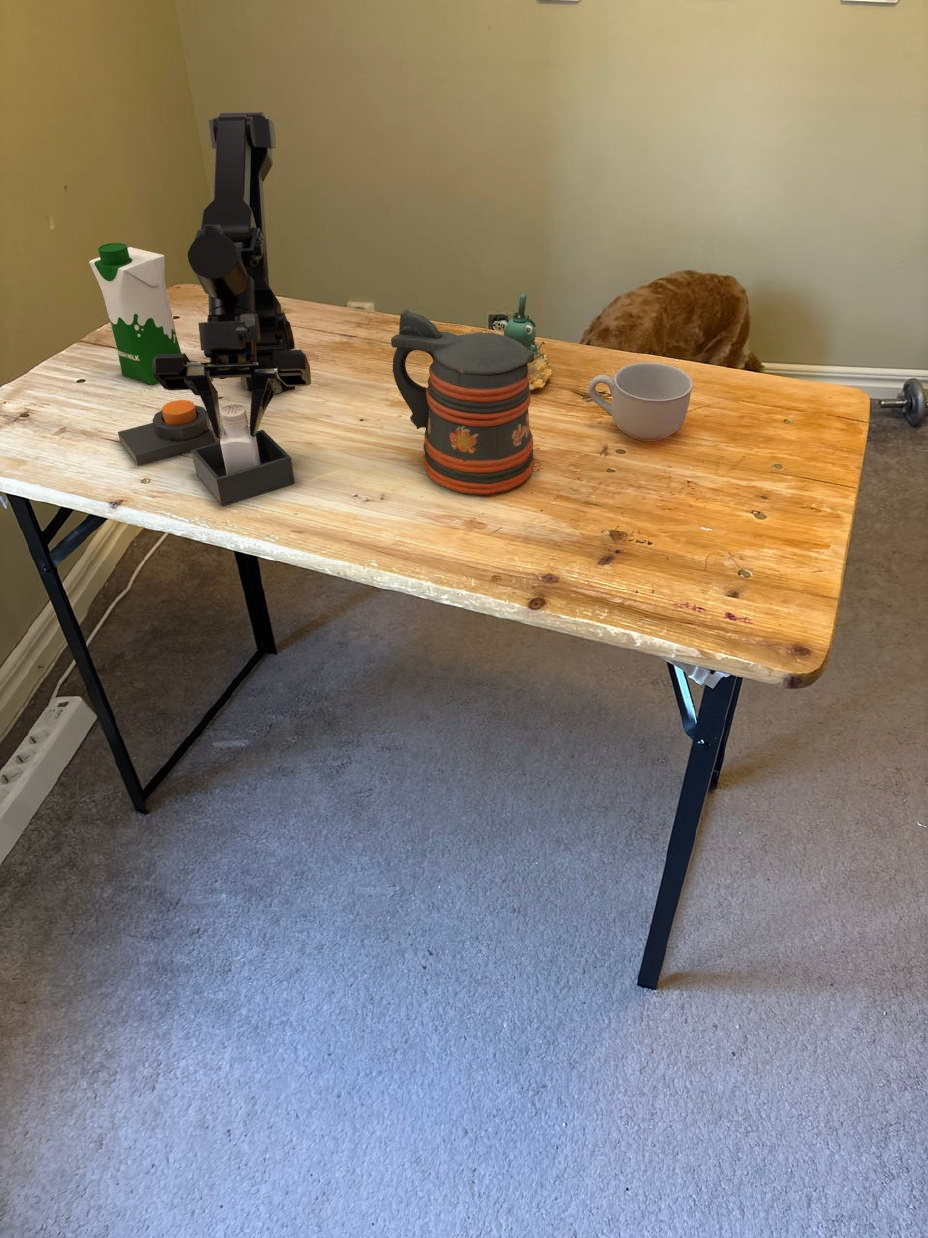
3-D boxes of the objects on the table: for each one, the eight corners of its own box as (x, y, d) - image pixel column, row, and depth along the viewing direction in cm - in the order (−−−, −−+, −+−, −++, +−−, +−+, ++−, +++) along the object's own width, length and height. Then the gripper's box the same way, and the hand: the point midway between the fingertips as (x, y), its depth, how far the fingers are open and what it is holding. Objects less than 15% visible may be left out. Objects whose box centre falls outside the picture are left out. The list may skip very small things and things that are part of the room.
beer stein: (377, 483, 118) (365, 334, 105) (412, 431, 129) (406, 290, 116) (519, 504, 114) (524, 351, 101) (543, 448, 125) (551, 304, 112)
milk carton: (113, 376, 144) (78, 246, 131) (156, 356, 150) (127, 230, 137) (152, 389, 140) (120, 256, 127) (195, 368, 146) (168, 239, 133)
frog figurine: (577, 367, 145) (580, 277, 135) (516, 421, 135) (514, 329, 125) (527, 352, 149) (526, 264, 139) (464, 404, 139) (457, 314, 129)
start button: (190, 408, 128) (188, 396, 127) (201, 420, 125) (199, 408, 124) (160, 416, 126) (157, 404, 125) (170, 428, 123) (167, 417, 122)
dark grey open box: (267, 455, 124) (262, 429, 121) (295, 484, 118) (291, 457, 115) (196, 476, 120) (190, 449, 117) (222, 507, 114) (216, 479, 111)
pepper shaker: (227, 484, 117) (214, 418, 111) (231, 468, 120) (218, 403, 114) (259, 483, 117) (247, 417, 111) (262, 467, 120) (250, 401, 114)
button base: (200, 421, 132) (195, 398, 130) (220, 443, 127) (215, 420, 124) (120, 442, 127) (114, 419, 125) (138, 466, 122) (131, 443, 120)
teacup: (693, 422, 130) (702, 369, 125) (673, 456, 123) (682, 401, 118) (600, 404, 135) (605, 352, 130) (576, 436, 127) (580, 383, 122)
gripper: (137, 289, 106) (139, 419, 105) (297, 284, 107) (301, 413, 106) (164, 328, 117) (166, 446, 116) (309, 324, 118) (313, 441, 117)
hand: (235, 436), depth 113 cm, fingers closed on pepper shaker, 4 cm apart
